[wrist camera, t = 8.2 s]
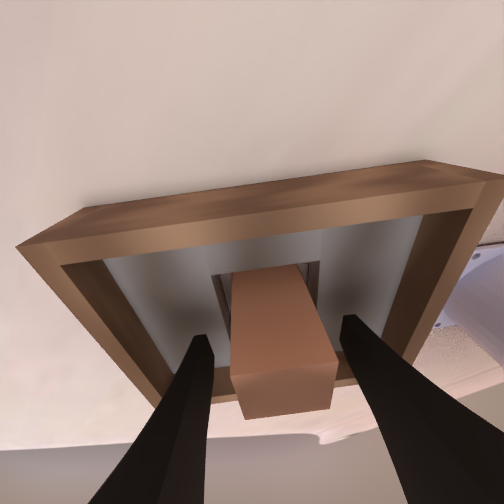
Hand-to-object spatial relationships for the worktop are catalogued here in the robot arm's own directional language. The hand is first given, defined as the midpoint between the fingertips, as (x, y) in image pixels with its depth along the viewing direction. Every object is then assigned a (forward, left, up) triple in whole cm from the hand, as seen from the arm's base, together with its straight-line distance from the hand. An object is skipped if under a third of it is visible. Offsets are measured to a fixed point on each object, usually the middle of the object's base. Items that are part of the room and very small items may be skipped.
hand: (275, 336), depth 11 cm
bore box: (0, 0, -4) cm, 4 cm away
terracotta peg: (0, 0, -4) cm, 4 cm away
